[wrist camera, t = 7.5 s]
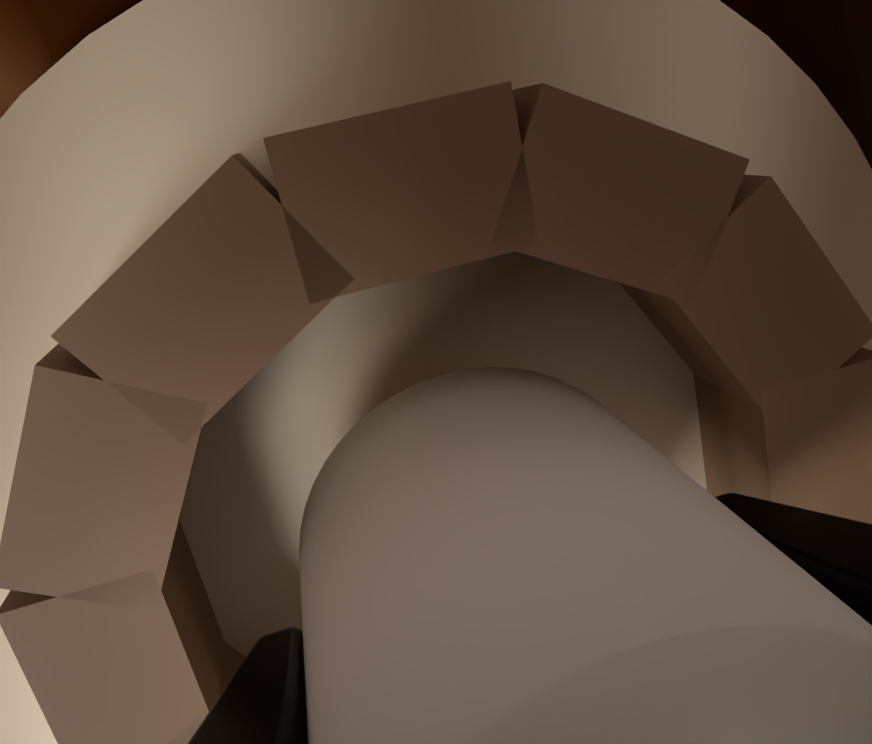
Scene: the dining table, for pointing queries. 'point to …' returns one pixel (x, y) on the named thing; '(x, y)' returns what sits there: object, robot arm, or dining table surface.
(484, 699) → the white cylinder
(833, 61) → the dining table surface
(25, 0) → the dining table surface
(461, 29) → the tray
